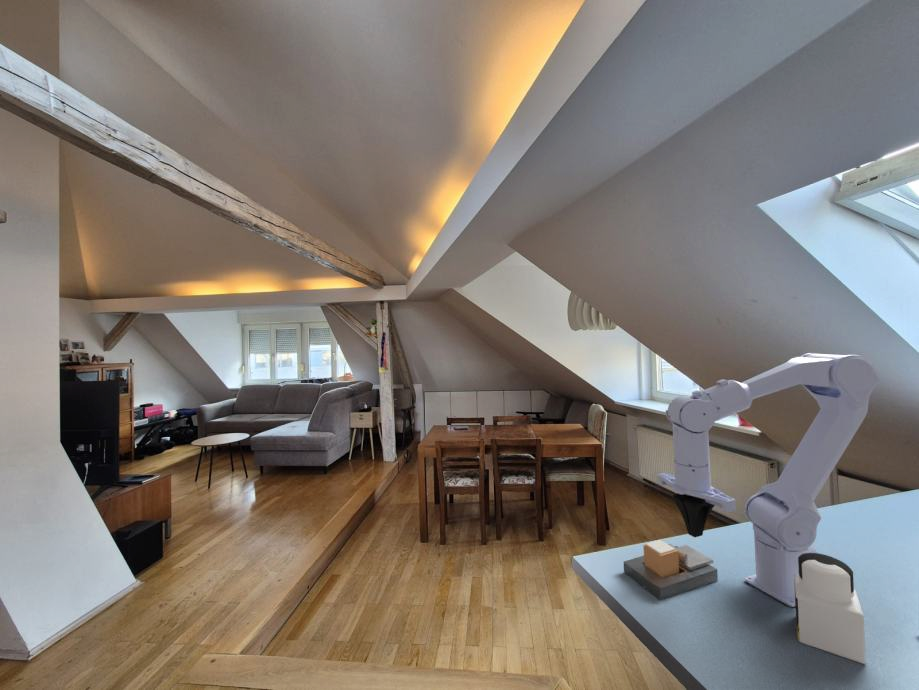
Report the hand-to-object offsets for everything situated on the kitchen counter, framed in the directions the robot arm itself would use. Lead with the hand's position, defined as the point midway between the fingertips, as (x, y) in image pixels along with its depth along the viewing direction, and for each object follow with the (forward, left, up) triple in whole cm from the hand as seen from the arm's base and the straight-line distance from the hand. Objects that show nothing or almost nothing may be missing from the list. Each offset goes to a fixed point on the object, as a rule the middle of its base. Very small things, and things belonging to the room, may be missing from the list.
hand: (695, 534), depth 71 cm
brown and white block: (+4, -5, -9) cm, 11 cm away
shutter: (-3, -5, -8) cm, 9 cm away
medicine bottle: (-7, +16, -10) cm, 20 cm away
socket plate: (+2, -5, -10) cm, 11 cm away
